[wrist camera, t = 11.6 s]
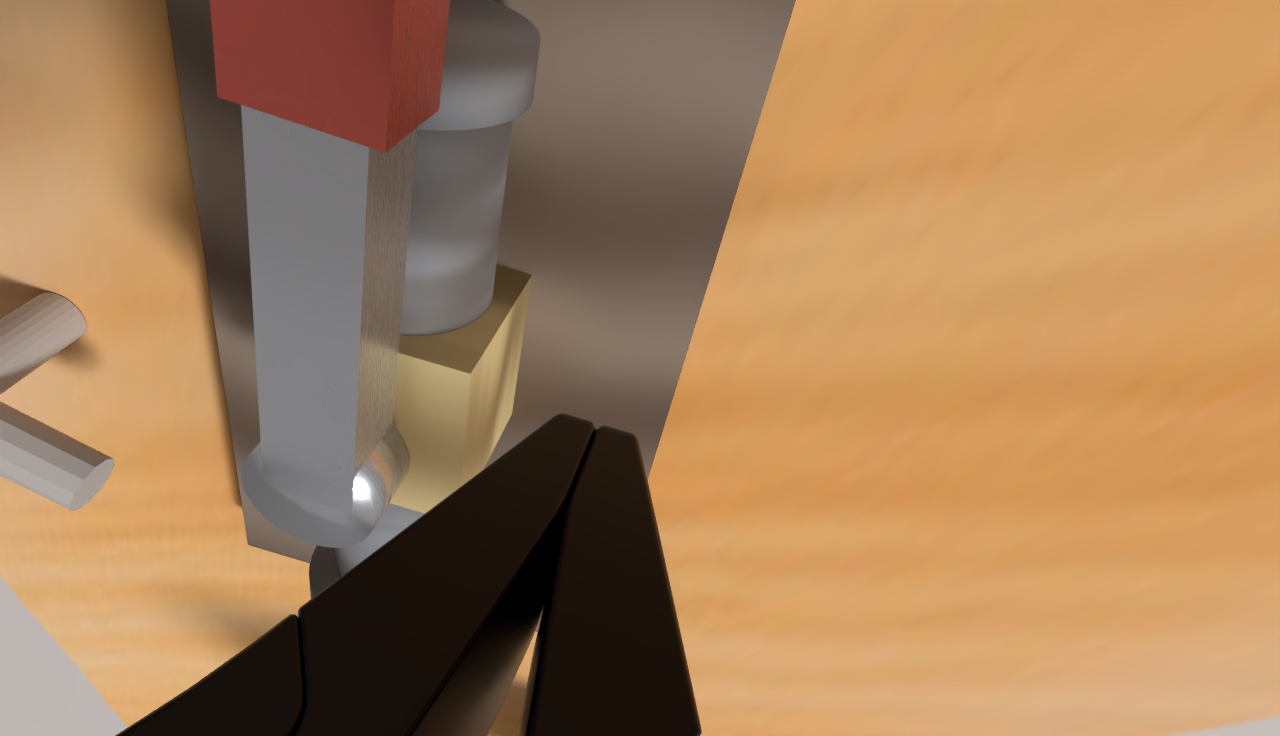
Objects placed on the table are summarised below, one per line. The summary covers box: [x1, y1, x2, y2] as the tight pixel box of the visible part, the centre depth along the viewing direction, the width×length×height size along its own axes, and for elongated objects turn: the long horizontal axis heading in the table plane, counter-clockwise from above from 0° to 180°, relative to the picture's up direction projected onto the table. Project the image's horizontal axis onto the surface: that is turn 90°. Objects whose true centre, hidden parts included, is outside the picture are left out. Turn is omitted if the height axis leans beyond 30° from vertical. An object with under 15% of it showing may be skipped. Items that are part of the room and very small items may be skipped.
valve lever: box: [210, 0, 450, 548], centre depth 14 cm, size 15×3×2 cm, turn 165°
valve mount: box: [166, 0, 796, 632], centre depth 22 cm, size 24×14×6 cm, turn 168°
